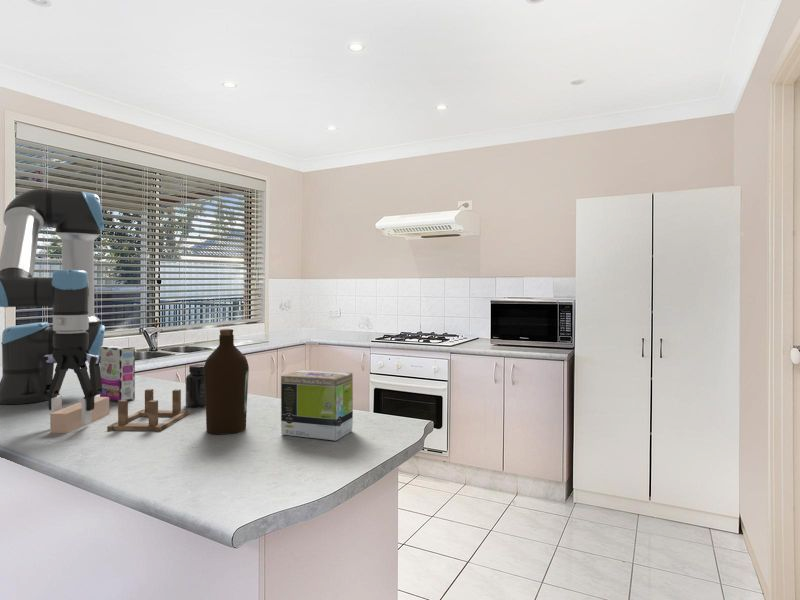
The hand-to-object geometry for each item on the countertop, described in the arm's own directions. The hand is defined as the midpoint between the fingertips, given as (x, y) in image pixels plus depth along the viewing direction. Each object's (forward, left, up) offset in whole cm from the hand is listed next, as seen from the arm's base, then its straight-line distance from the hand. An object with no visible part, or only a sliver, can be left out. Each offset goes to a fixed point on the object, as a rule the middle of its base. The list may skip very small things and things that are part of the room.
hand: (71, 422), depth 127 cm
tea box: (+2, +62, -1) cm, 62 cm away
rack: (-6, +17, -1) cm, 18 cm away
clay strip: (-4, 0, -1) cm, 4 cm away
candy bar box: (-31, -6, -1) cm, 32 cm away
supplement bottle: (-24, +22, -1) cm, 33 cm away
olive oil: (0, +39, -1) cm, 39 cm away
